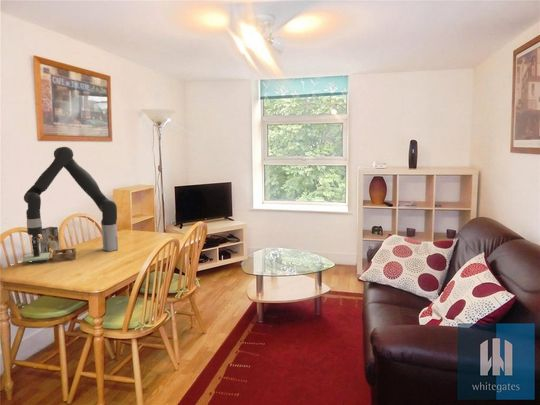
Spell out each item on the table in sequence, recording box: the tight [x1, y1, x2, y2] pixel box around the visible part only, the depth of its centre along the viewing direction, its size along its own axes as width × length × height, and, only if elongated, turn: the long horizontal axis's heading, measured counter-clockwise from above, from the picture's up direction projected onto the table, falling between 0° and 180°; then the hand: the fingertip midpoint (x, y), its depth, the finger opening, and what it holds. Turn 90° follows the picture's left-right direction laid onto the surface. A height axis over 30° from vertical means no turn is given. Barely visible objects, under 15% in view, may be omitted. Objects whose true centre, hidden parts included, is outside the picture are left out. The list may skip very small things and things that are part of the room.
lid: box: [22, 245, 51, 263], centre depth 237 cm, size 13×13×7 cm
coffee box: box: [39, 226, 61, 253], centre depth 260 cm, size 9×6×16 cm
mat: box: [26, 259, 48, 266], centre depth 237 cm, size 10×12×1 cm
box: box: [51, 247, 77, 263], centre depth 243 cm, size 12×12×5 cm
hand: (36, 254), depth 237 cm, fingers closed on lid, 3 cm apart
